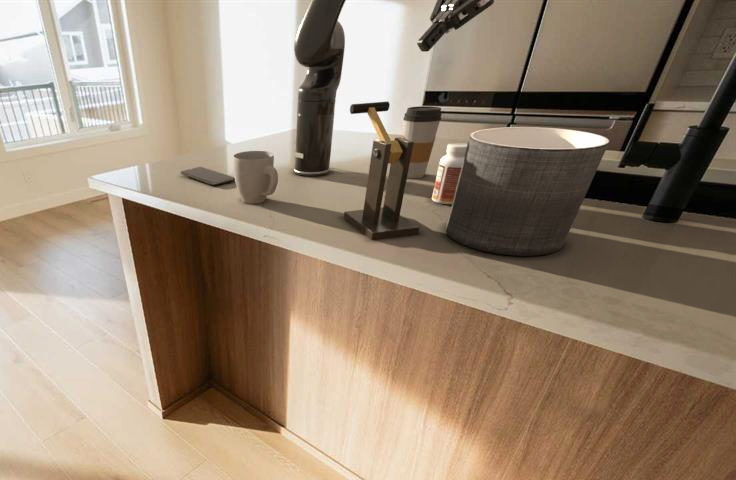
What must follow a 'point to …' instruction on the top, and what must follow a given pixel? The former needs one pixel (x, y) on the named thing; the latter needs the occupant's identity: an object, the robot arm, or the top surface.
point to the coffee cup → (420, 136)
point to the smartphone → (207, 176)
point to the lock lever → (379, 125)
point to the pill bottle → (449, 173)
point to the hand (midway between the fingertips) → (421, 47)
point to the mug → (255, 175)
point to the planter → (522, 188)
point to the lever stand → (388, 217)
